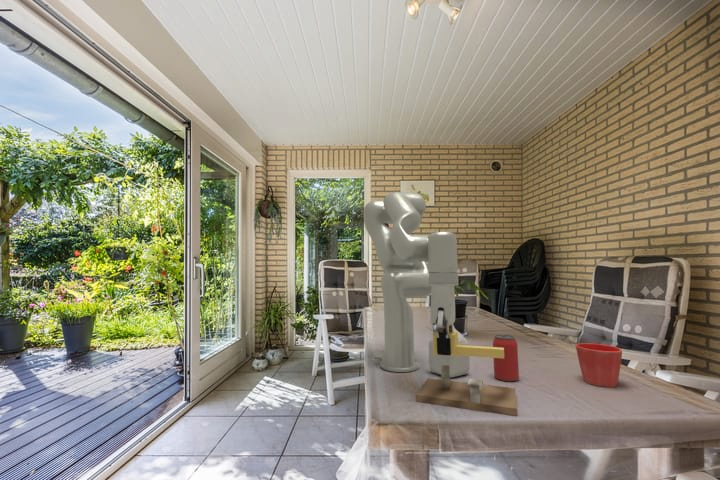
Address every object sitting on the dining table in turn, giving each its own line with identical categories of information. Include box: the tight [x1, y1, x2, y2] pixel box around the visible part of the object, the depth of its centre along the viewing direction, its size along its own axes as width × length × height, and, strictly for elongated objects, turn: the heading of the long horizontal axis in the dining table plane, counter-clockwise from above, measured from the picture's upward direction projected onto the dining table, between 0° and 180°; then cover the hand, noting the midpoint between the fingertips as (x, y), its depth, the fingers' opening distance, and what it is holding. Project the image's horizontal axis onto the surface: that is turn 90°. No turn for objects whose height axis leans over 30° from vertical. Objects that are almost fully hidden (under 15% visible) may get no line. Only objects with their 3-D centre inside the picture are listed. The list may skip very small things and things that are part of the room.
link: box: [432, 330, 504, 359], centre depth 84 cm, size 16×5×5 cm, turn 67°
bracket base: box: [415, 365, 518, 417], centre depth 84 cm, size 22×14×7 cm, turn 67°
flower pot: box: [575, 342, 623, 388], centre depth 95 cm, size 11×11×10 cm
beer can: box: [492, 334, 520, 383], centre depth 99 cm, size 7×7×12 cm
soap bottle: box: [428, 324, 470, 379], centre depth 105 cm, size 10×10×23 cm
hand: (446, 351), depth 86 cm, fingers closed on link, 5 cm apart
